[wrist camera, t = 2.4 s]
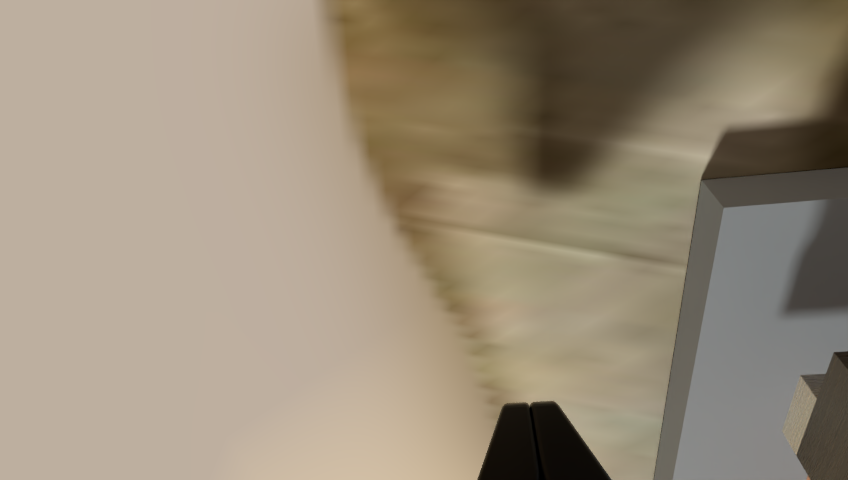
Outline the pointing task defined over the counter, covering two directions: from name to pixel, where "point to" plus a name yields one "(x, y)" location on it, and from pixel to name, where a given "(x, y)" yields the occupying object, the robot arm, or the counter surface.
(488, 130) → the counter surface
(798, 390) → the latch bolt
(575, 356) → the counter surface
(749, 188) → the latch plate
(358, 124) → the counter surface
